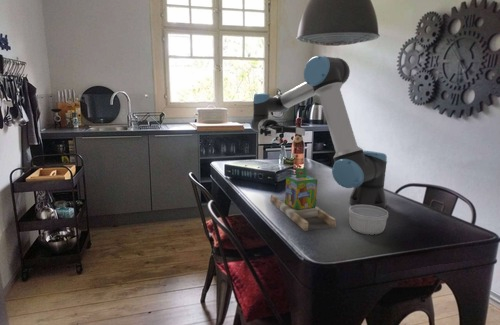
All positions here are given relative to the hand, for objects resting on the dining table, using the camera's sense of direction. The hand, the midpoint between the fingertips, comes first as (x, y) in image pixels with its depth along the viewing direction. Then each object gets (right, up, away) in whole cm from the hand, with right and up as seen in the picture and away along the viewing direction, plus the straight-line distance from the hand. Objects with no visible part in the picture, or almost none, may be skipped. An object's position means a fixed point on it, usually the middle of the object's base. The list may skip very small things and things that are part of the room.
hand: (289, 132), depth 144 cm
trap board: (+3, -32, -7) cm, 33 cm away
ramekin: (+25, -36, -21) cm, 49 cm away
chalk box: (+3, -30, -8) cm, 31 cm away
